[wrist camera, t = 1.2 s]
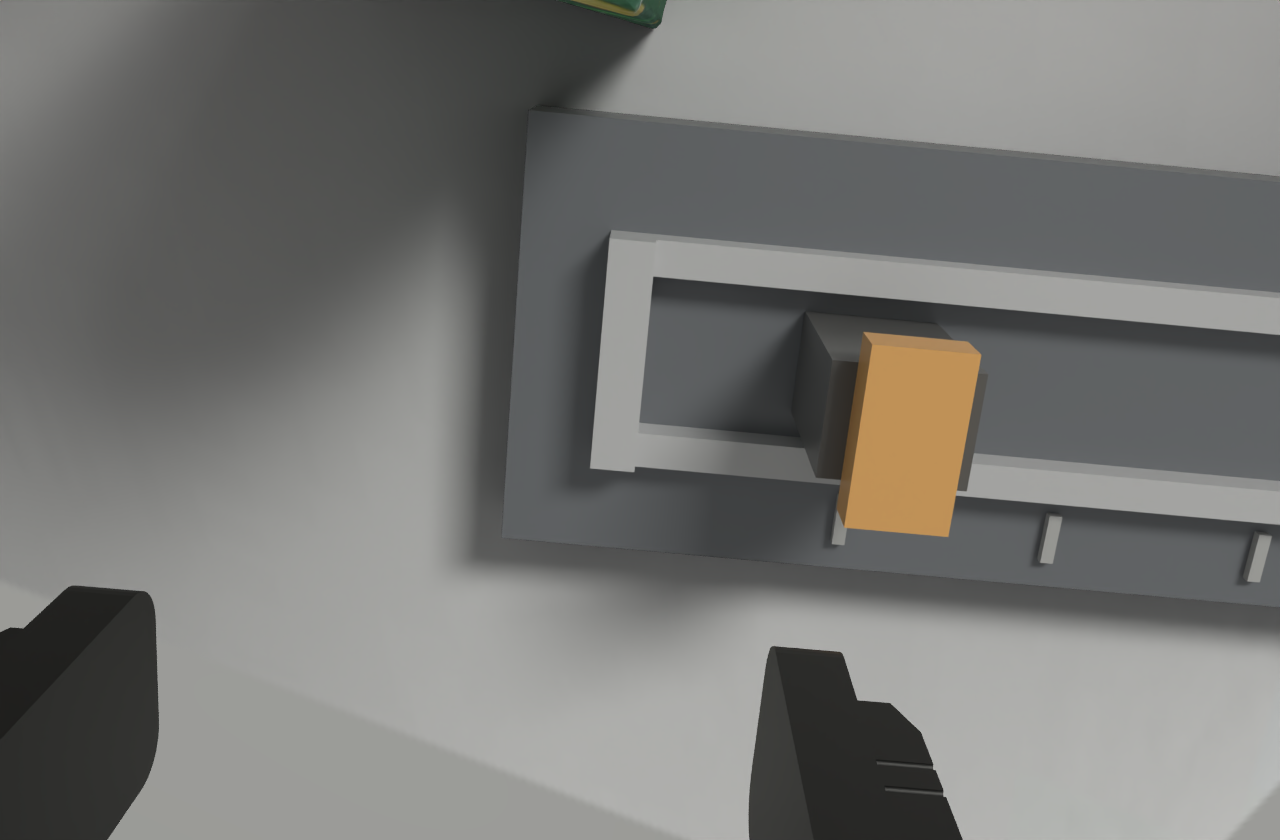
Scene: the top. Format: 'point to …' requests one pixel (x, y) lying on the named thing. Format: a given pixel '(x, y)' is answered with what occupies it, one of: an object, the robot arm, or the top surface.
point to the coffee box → (627, 9)
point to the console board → (904, 290)
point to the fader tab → (888, 418)
